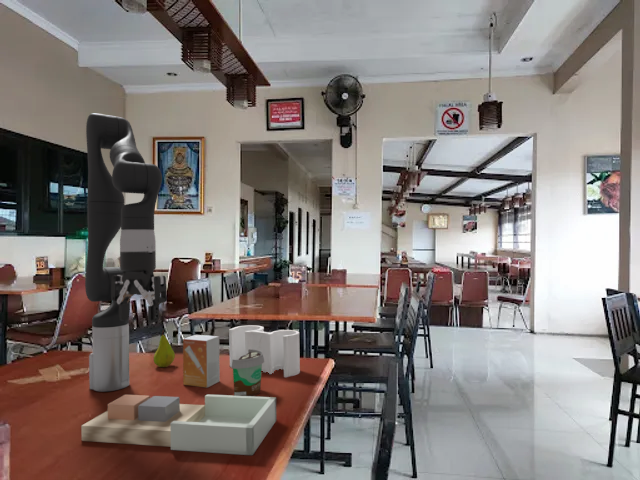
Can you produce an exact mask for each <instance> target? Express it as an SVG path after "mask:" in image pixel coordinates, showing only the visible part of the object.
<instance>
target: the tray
mask: <svg viewBox="0 0 640 480" xmlns="http://www.w3.org/2000/svg"><path fill="white" fill-rule="evenodd" d="M204 405H205V416H204V417H203V418H202V419H201V420H200V421H199V422H186V421H173V422H172V423H171V447H170V450H171V451H183V452H184V451H185V452H199V453H213V454H229V455H241V456H243V455H244V456H253V455H254V454H255V452H256V451H257V449H258V448H259V446H260V445H261V444H262V442H263V440H264V439H265V437H266V436H267V435H268V433H269V432H270V430H271V429H272V428H273V426H274V424H276V422H277V397H273V396H270V397H269V396H234V395H229V394H228V395H227V394H206V395H204Z"/></svg>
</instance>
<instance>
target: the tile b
mask: <svg viewBox="0 0 640 480" xmlns="http://www.w3.org/2000/svg"><path fill="white" fill-rule="evenodd" d="M180 404H181V403H180V396H169V395H168V396H166V395H164V396H163V395H153V396H151V397H150V399H148V400H147V401H145V402H144V403H142V404H140V405H139V406H138V420H140V421H158V422H166V421H167V420H169V419H170V418H171V417H172V416H174V415H175V414H176V413H178V412H179V411H180Z"/></svg>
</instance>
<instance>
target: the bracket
mask: <svg viewBox="0 0 640 480" xmlns="http://www.w3.org/2000/svg"><path fill="white" fill-rule="evenodd" d="M228 330H229V331H228V332H229V333H228V342H229V347H228V349H229V367H230V368H232V362H233V360H238V359H239V358H240V357H241V356H244V355H246V354H248V349H250V350H258V351H261V352H262V354H263V357H264V363H262V371H263V372H262V373H266V372H268V373H269V374H268V373H267V374H268V375H272V373H273V374H274V371H275V370H277V371H279V369H281V370H283V378H289V377H293V376H296V375H299V374H300V373H301V365H300V362H301V361H300V360H301V359H300V353H301V352H300V332H299V331H297V330H293V329H292V330H291V329H281V330H274V331H271V332H269V331H265V327H264V326H263V325H262V326H261V325H251V324H250V325H239V326H235V327H232V328H229V329H228ZM275 372H276V371H275Z"/></svg>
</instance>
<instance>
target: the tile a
mask: <svg viewBox="0 0 640 480" xmlns="http://www.w3.org/2000/svg"><path fill="white" fill-rule="evenodd" d="M150 398H151V396H150V395H144V394H143V395H141V394H123V395H122V396H120V397H118V398H117V399H115V400H113V401H111V402H109V403H107V411H108V419H123V420H135V419H136V418H138V406H139V405H140V404H142V403H144V402H145V401H147V400H148V399H150Z"/></svg>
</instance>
